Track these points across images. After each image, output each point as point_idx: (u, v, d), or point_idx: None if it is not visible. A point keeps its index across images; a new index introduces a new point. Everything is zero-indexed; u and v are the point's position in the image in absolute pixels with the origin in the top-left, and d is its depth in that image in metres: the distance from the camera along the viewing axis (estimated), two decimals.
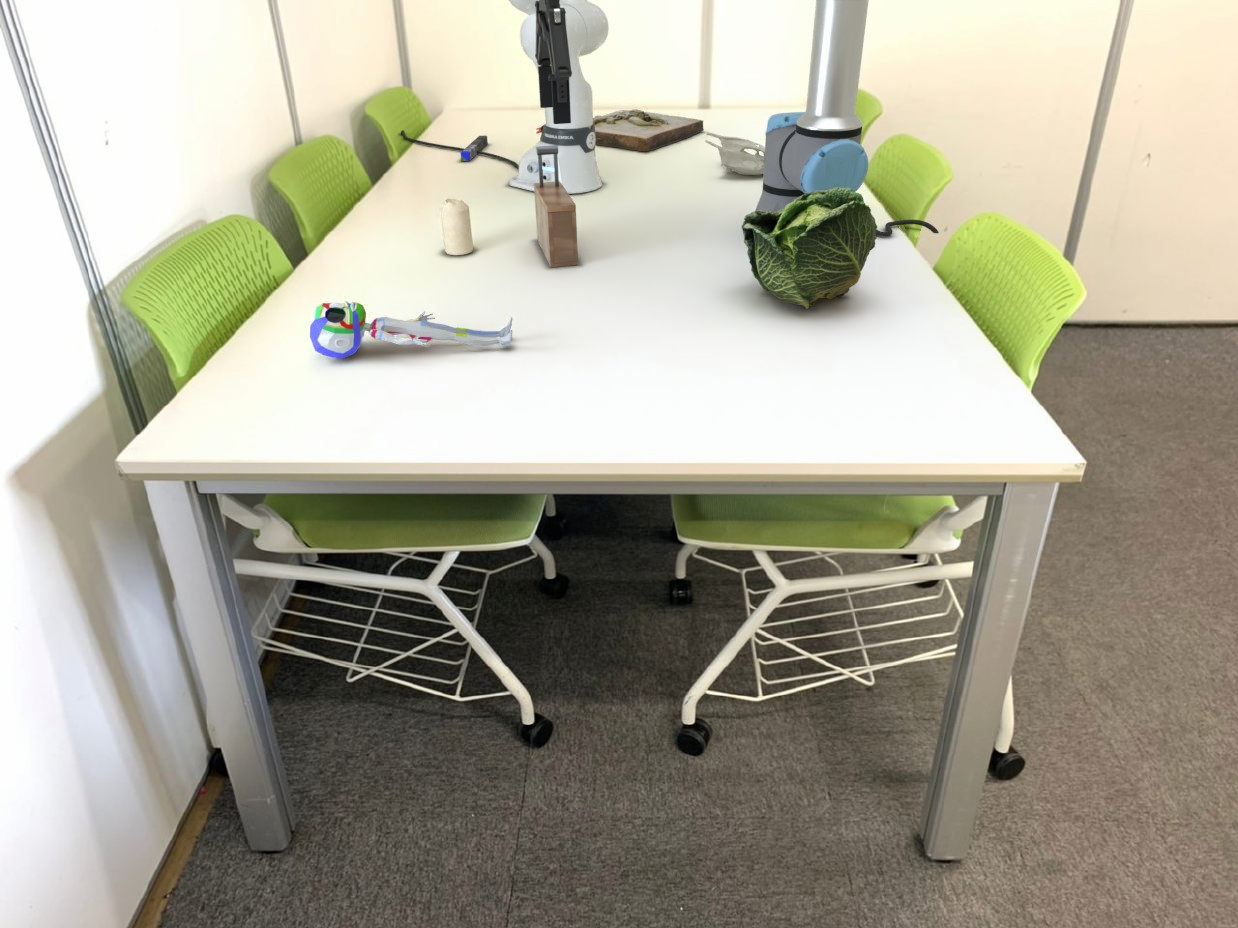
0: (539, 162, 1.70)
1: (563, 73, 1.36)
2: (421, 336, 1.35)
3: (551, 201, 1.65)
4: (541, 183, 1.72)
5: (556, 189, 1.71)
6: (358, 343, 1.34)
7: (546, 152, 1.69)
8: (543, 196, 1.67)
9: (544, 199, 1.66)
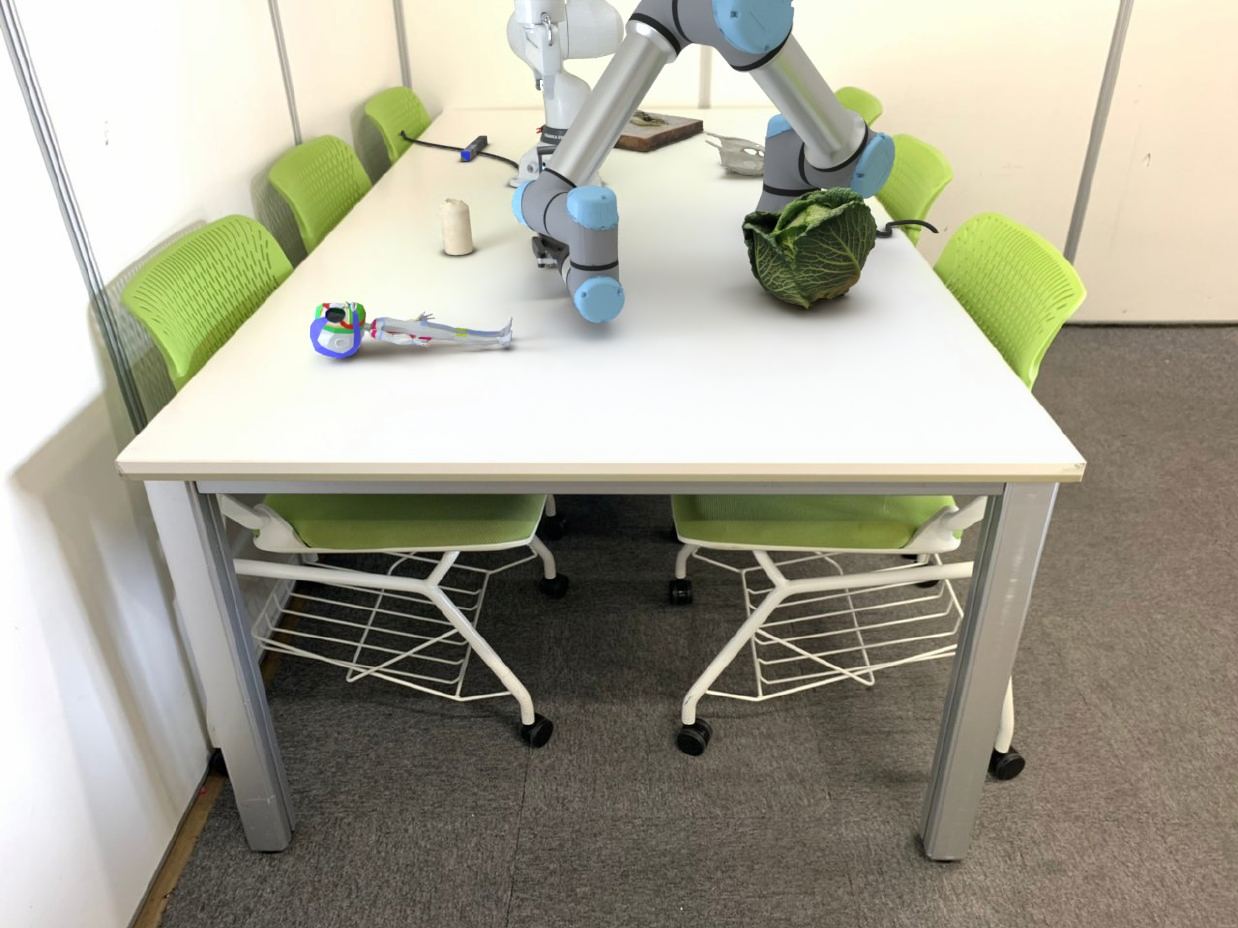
0: (539, 162, 1.70)
1: None
2: (421, 336, 1.35)
3: None
4: None
5: None
6: (358, 343, 1.34)
7: (546, 152, 1.69)
8: None
9: None
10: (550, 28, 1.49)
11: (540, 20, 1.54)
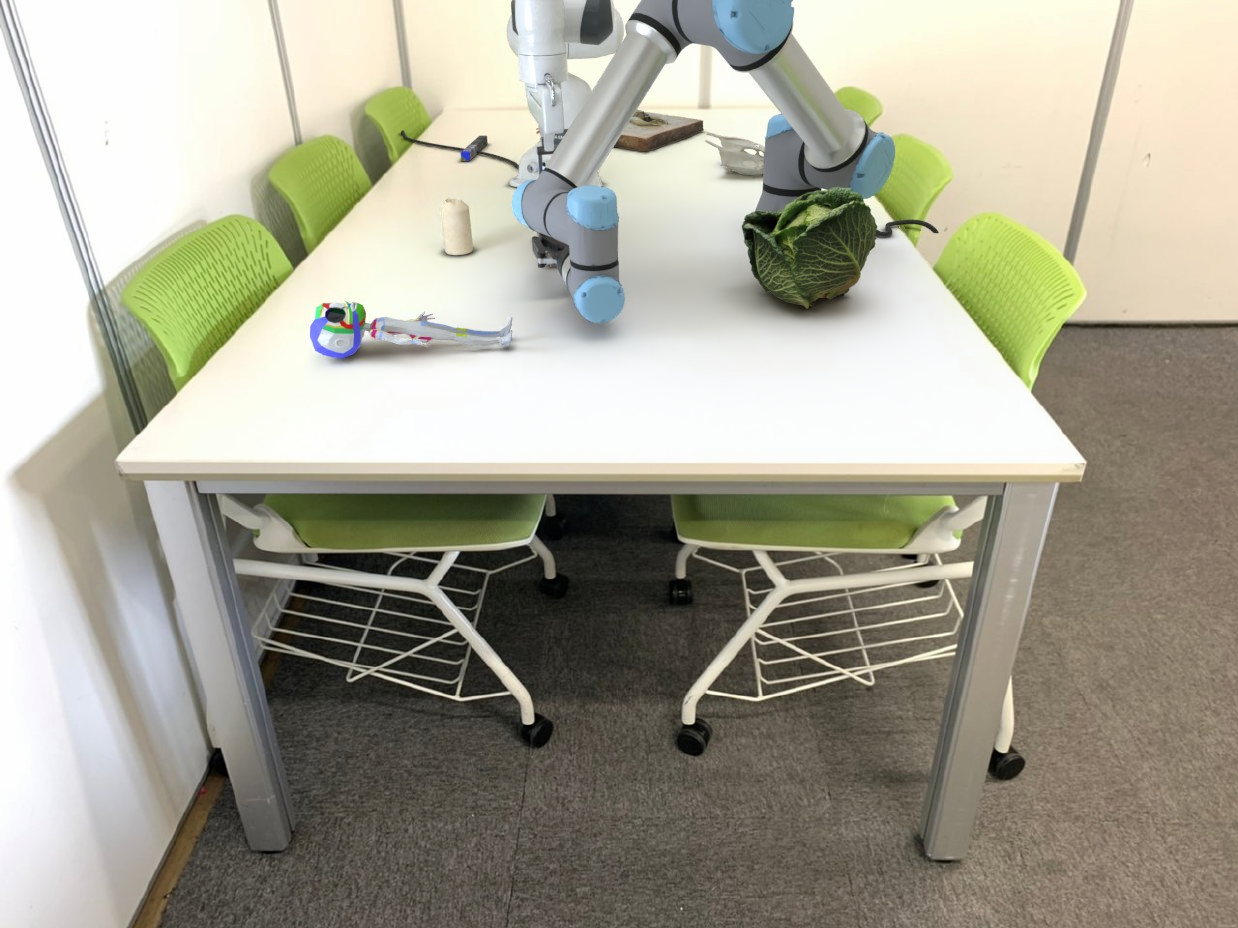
0: (539, 162, 1.70)
1: None
2: (421, 336, 1.35)
3: None
4: None
5: None
6: (358, 343, 1.34)
7: (546, 152, 1.69)
8: None
9: None
10: (553, 90, 1.55)
11: (543, 80, 1.59)
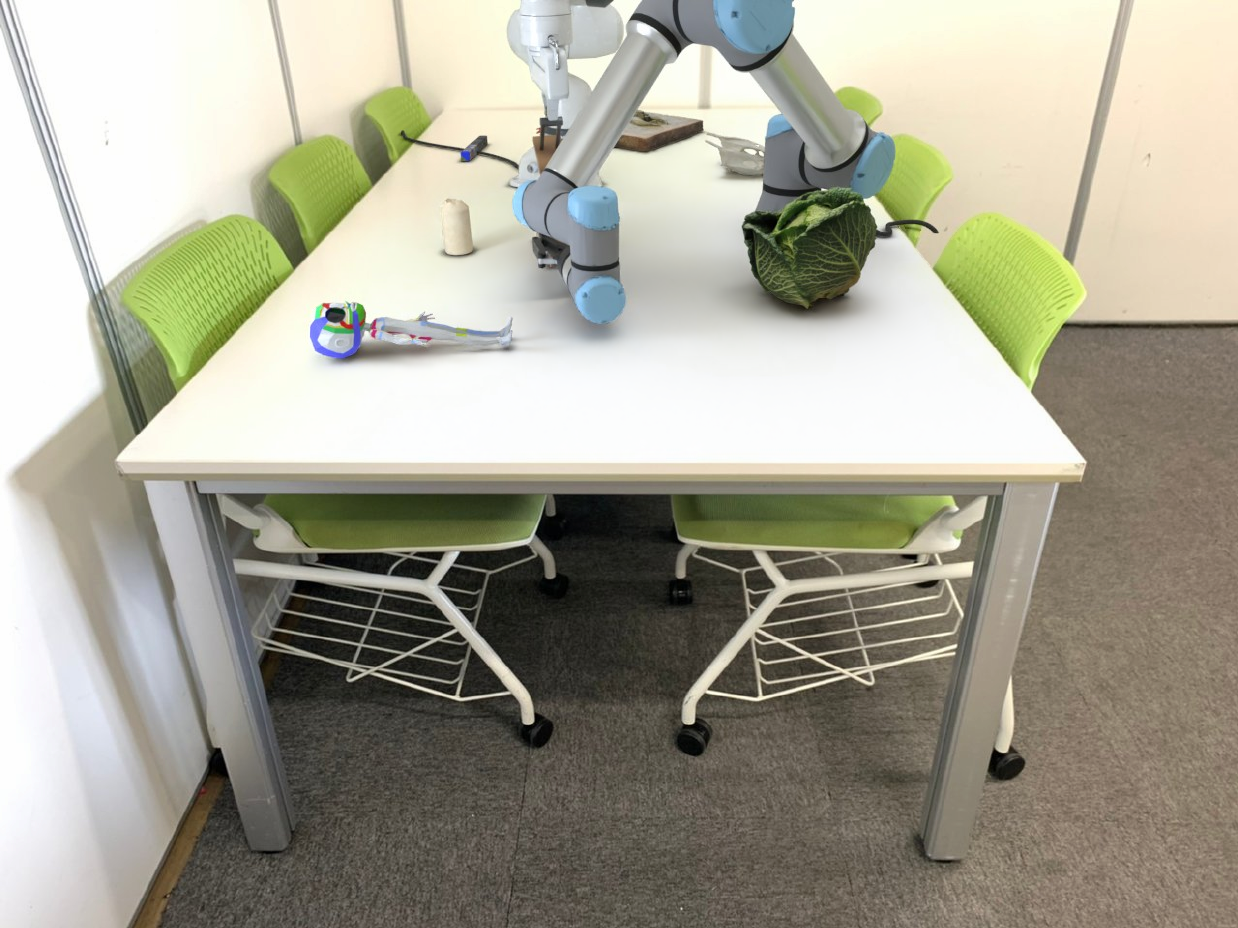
0: (541, 132, 1.62)
1: None
2: (421, 336, 1.35)
3: None
4: (541, 147, 1.65)
5: None
6: (358, 343, 1.34)
7: (550, 125, 1.60)
8: None
9: None
10: (557, 52, 1.45)
11: (547, 43, 1.49)
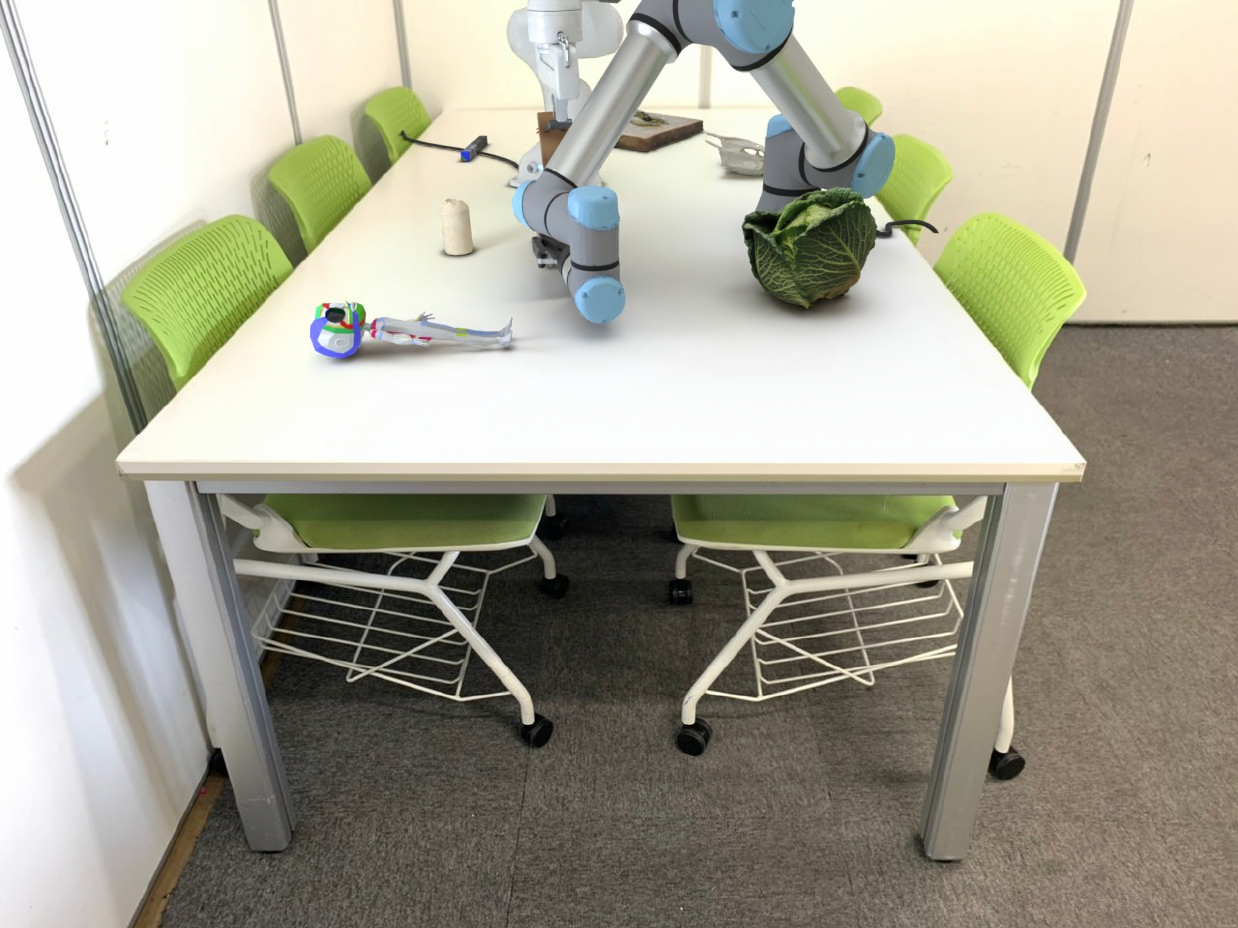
0: (548, 128, 1.54)
1: None
2: (421, 336, 1.35)
3: None
4: (546, 131, 1.57)
5: None
6: (358, 343, 1.34)
7: (558, 129, 1.52)
8: None
9: None
10: (568, 49, 1.36)
11: (556, 40, 1.41)
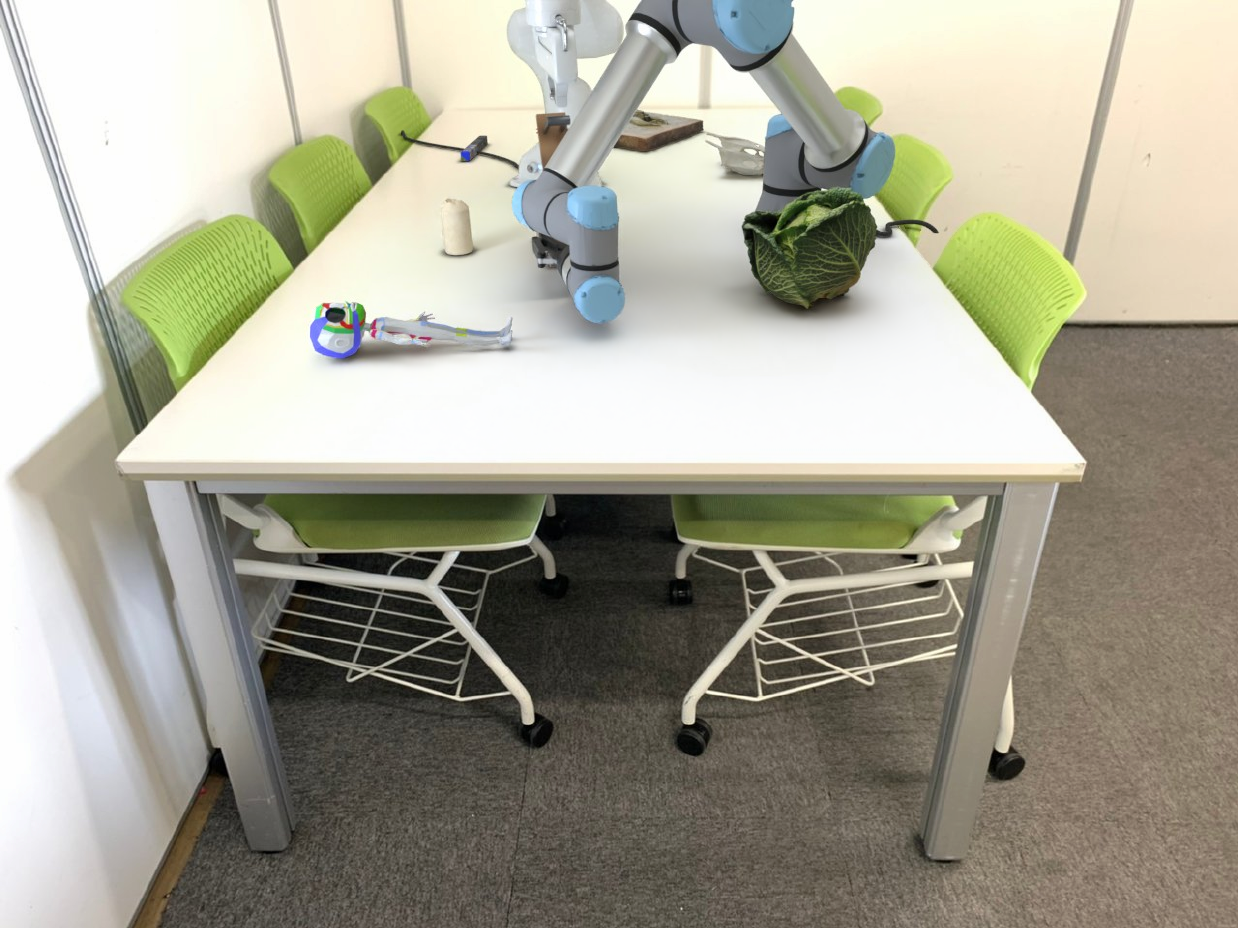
0: (547, 126, 1.55)
1: None
2: (421, 336, 1.35)
3: None
4: (545, 132, 1.59)
5: None
6: (358, 343, 1.34)
7: (556, 125, 1.54)
8: None
9: None
10: (566, 32, 1.36)
11: (554, 23, 1.41)
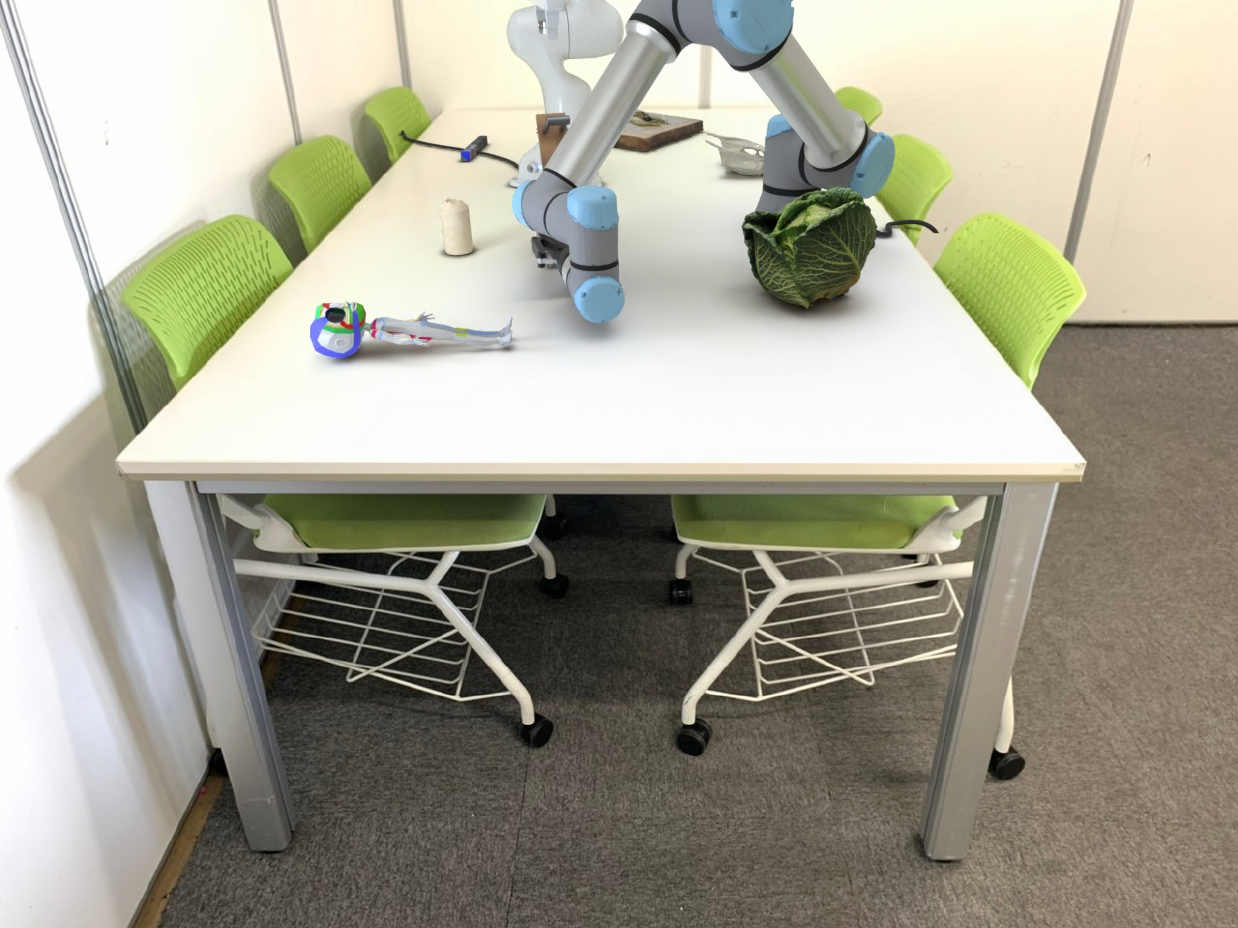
0: (547, 126, 1.55)
1: None
2: (421, 336, 1.35)
3: None
4: (545, 132, 1.59)
5: None
6: (358, 343, 1.34)
7: (556, 125, 1.54)
8: None
9: None
10: None
11: None
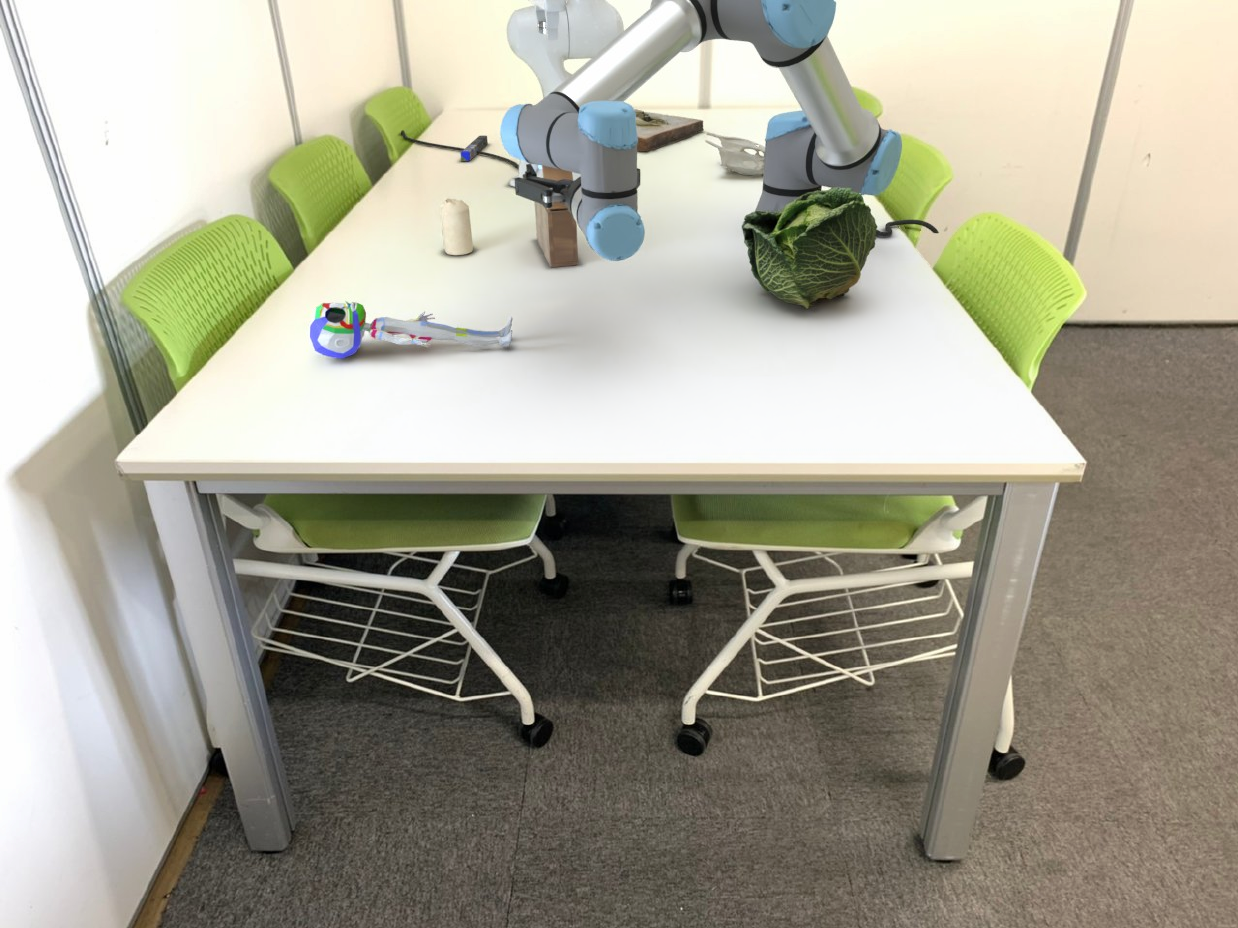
0: None
1: None
2: (421, 336, 1.35)
3: None
4: None
5: None
6: (358, 343, 1.34)
7: None
8: (545, 170, 1.61)
9: None
10: None
11: None
